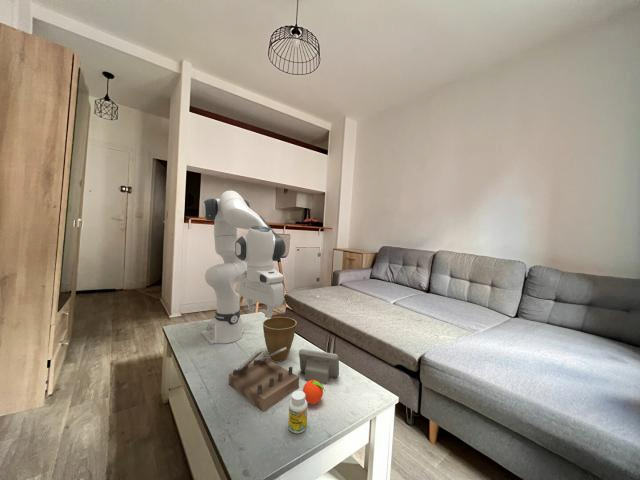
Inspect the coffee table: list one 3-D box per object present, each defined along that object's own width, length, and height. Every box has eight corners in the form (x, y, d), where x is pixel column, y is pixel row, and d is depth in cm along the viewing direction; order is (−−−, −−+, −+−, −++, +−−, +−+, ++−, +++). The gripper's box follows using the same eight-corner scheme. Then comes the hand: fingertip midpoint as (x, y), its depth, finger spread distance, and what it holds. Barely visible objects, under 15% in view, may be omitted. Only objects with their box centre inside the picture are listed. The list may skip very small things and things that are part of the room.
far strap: (256, 363, 96) (256, 361, 97) (262, 360, 99) (262, 358, 99) (280, 351, 88) (279, 349, 88) (286, 348, 90) (285, 346, 90)
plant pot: (298, 364, 104) (299, 327, 103) (262, 368, 100) (263, 330, 99) (292, 347, 118) (293, 315, 118) (261, 350, 114) (262, 317, 114)
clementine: (328, 398, 84) (329, 378, 83) (321, 412, 77) (322, 391, 77) (307, 392, 87) (308, 372, 86) (298, 405, 80) (299, 384, 80)
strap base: (228, 384, 89) (229, 366, 89) (264, 366, 102) (264, 350, 101) (263, 411, 77) (264, 391, 76) (298, 387, 89) (299, 369, 89)
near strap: (236, 373, 89) (235, 371, 90) (243, 369, 92) (242, 367, 92) (257, 353, 82) (256, 351, 82) (264, 350, 84) (263, 348, 84)
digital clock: (341, 376, 97) (342, 350, 96) (332, 390, 89) (334, 361, 88) (305, 365, 103) (306, 341, 103) (294, 377, 95) (295, 350, 95)
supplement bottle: (308, 421, 74) (309, 390, 73) (304, 435, 68) (305, 402, 68) (291, 418, 75) (292, 387, 74) (286, 432, 69) (287, 399, 69)
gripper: (235, 271, 87) (234, 309, 88) (271, 279, 74) (271, 324, 75) (250, 269, 92) (249, 305, 92) (287, 276, 79) (286, 318, 79)
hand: (259, 313), depth 83 cm, fingers open, 8 cm apart
